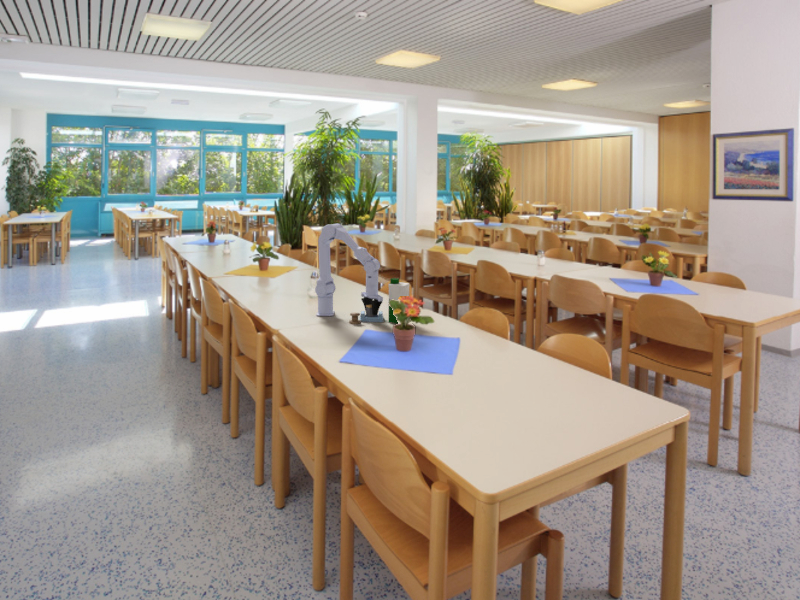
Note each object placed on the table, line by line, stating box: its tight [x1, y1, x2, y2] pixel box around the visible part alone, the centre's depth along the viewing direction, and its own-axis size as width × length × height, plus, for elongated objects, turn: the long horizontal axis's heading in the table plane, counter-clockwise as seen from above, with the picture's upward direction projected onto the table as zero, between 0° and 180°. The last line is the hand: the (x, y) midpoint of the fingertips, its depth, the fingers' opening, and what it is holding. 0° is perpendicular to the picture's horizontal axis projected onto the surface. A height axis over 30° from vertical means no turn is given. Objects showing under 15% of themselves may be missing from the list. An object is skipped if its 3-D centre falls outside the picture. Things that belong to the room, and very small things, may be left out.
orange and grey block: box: [365, 304, 379, 317], centre depth 264 cm, size 3×4×5 cm
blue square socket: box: [359, 310, 384, 323], centre depth 264 cm, size 9×11×3 cm
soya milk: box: [387, 277, 410, 324], centre depth 260 cm, size 9×9×20 cm
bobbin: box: [348, 312, 362, 325], centre depth 258 cm, size 5×5×4 cm
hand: (371, 313), depth 264 cm, fingers open, 5 cm apart
